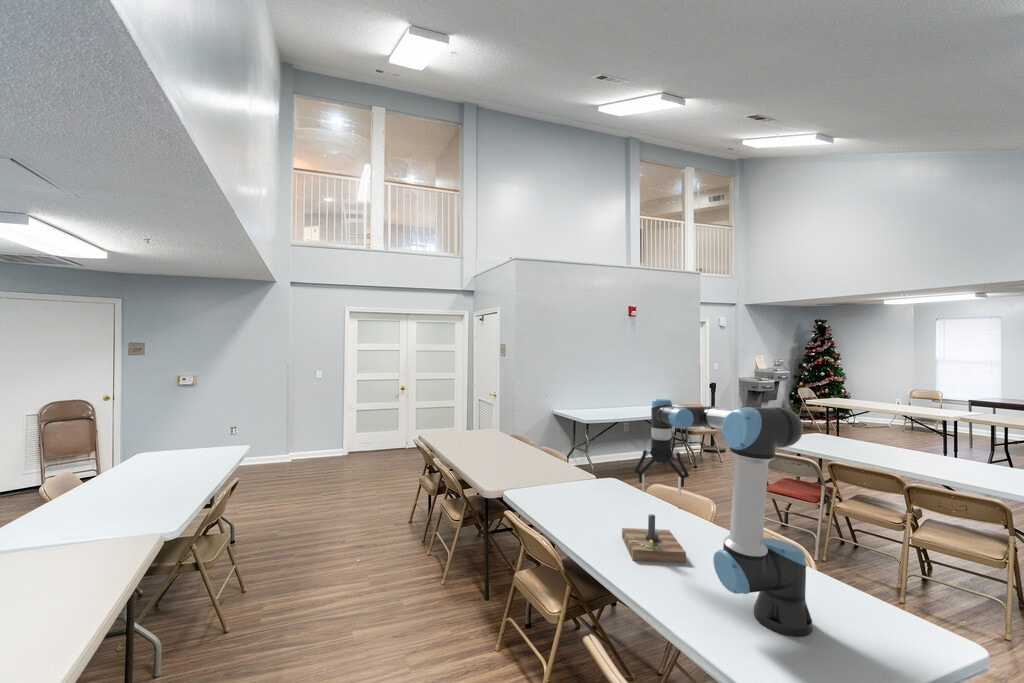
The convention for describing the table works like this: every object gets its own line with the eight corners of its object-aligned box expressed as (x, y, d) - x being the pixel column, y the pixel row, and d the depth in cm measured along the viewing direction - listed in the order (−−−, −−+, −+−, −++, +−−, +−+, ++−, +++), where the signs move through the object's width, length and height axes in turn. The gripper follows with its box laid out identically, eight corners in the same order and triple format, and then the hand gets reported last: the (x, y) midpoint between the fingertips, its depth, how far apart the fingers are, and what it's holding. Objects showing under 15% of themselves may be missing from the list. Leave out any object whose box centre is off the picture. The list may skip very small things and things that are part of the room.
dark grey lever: (658, 537, 187) (658, 509, 187) (657, 549, 176) (658, 519, 176) (645, 535, 189) (646, 507, 189) (644, 547, 177) (644, 517, 177)
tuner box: (685, 562, 174) (685, 551, 174) (632, 560, 175) (632, 549, 175) (669, 539, 196) (669, 529, 196) (621, 537, 197) (622, 527, 197)
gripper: (694, 439, 179) (694, 493, 178) (629, 434, 186) (628, 487, 186) (696, 442, 172) (696, 499, 171) (628, 437, 179) (627, 492, 178)
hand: (661, 493), depth 178 cm, fingers open, 13 cm apart
